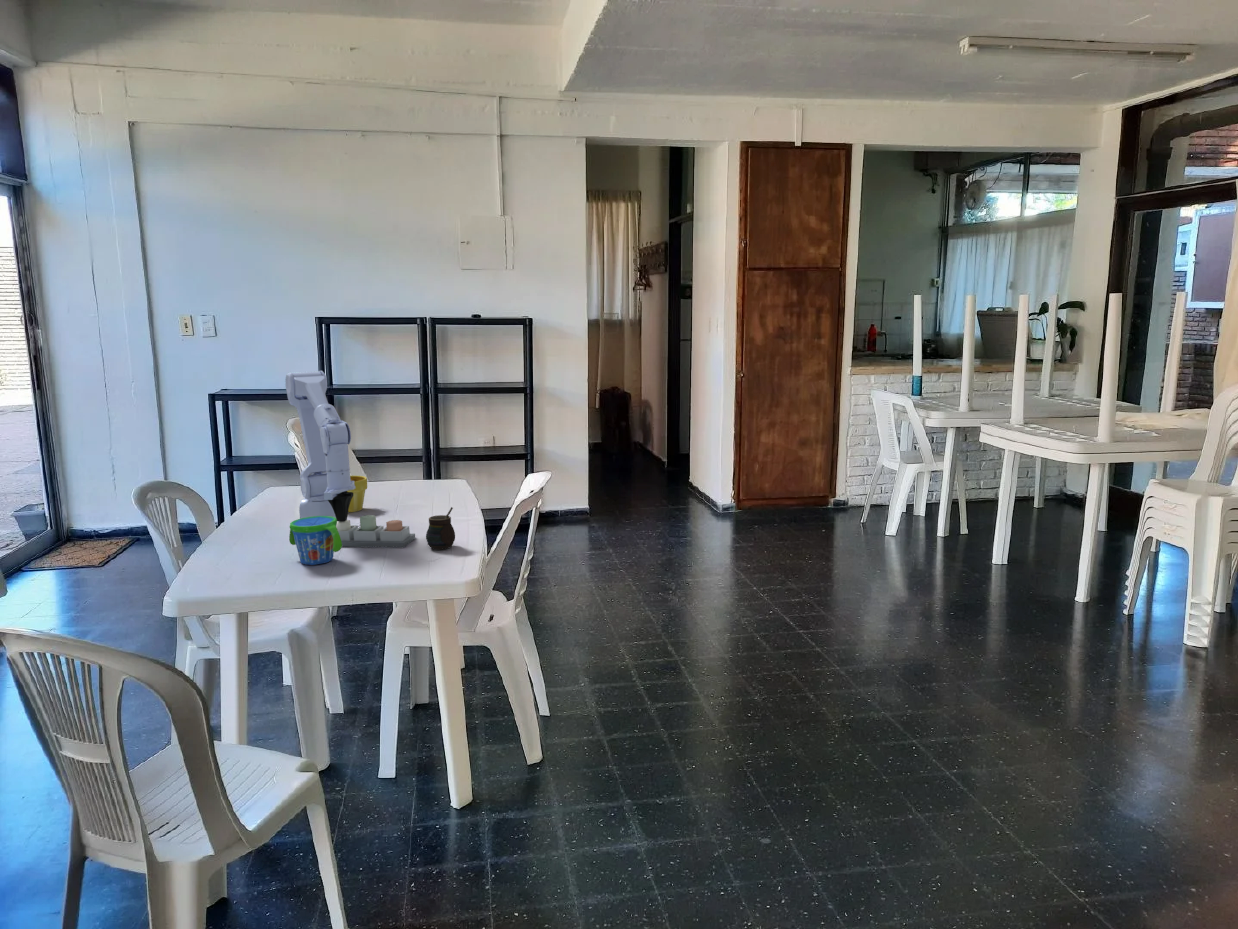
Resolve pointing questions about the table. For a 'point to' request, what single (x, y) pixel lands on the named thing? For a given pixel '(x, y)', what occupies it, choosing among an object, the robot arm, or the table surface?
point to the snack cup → (315, 539)
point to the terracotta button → (394, 525)
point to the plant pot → (357, 493)
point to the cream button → (343, 525)
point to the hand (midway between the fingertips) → (342, 520)
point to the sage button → (368, 523)
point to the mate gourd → (440, 532)
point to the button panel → (376, 537)
